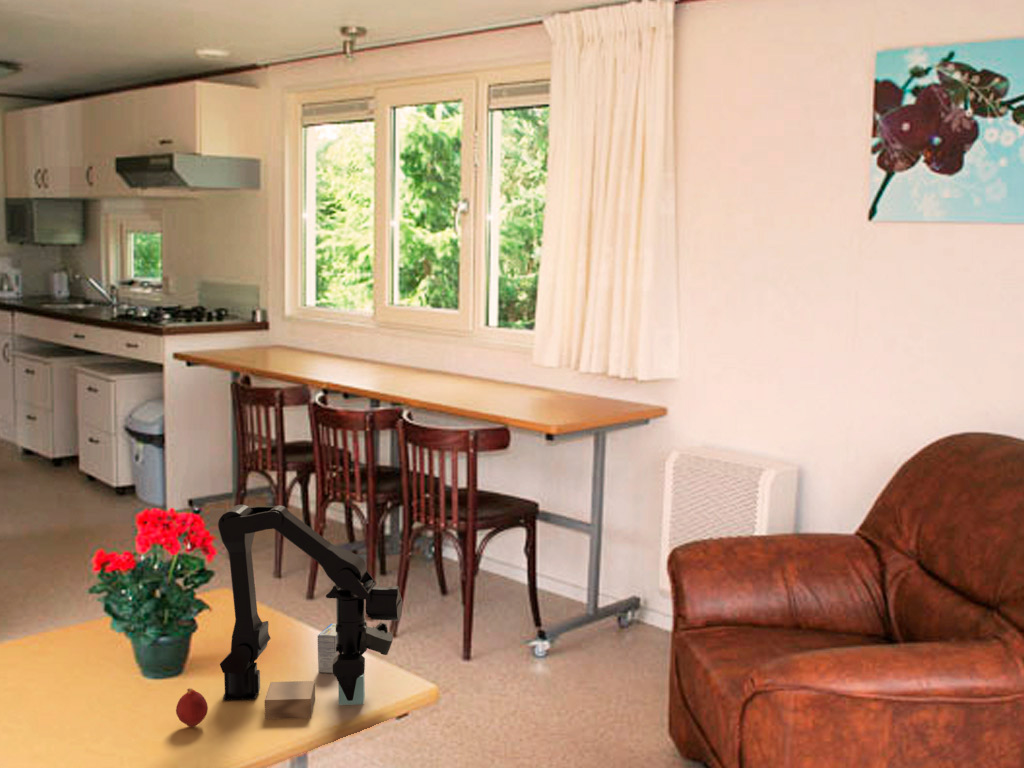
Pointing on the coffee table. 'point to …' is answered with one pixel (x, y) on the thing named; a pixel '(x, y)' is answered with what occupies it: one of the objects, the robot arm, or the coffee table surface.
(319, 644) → the medicine box
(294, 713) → the walnut stand
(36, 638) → the coffee table surface
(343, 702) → the teal block
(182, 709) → the onion
